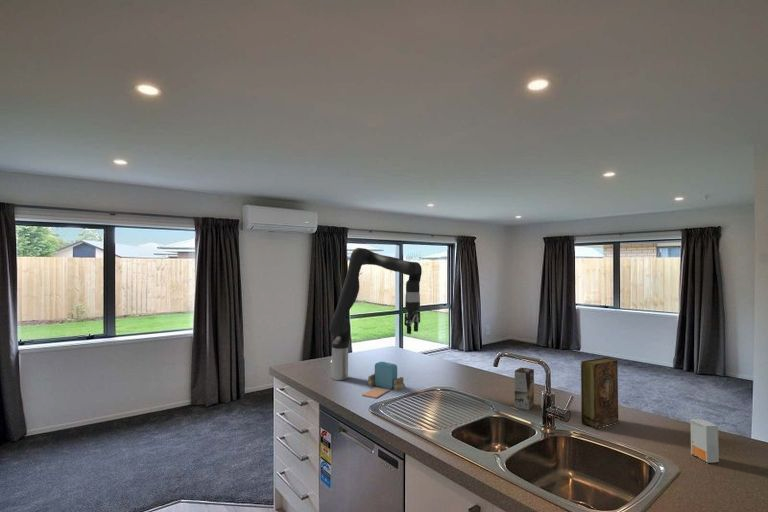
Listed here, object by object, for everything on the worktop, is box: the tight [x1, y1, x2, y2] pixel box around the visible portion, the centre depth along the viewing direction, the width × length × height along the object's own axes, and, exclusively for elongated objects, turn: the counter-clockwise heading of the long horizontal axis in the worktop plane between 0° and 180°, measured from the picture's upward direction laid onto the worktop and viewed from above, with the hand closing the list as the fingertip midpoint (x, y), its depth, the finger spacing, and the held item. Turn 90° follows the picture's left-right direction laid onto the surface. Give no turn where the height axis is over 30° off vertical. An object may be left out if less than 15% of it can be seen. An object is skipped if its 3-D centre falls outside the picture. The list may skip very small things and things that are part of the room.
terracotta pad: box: [361, 386, 391, 399], centre depth 189 cm, size 8×14×1 cm, turn 151°
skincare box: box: [690, 418, 720, 463], centre depth 124 cm, size 6×4×12 cm
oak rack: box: [367, 373, 406, 392], centre depth 201 cm, size 16×10×5 cm, turn 61°
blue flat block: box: [374, 361, 398, 390], centre depth 200 cm, size 12×4×12 cm, turn 50°
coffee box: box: [514, 367, 535, 411], centre depth 173 cm, size 9×6×16 cm
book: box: [580, 357, 619, 430], centre depth 153 cm, size 16×6×25 cm, turn 117°
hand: (412, 332), depth 195 cm, fingers open, 8 cm apart
